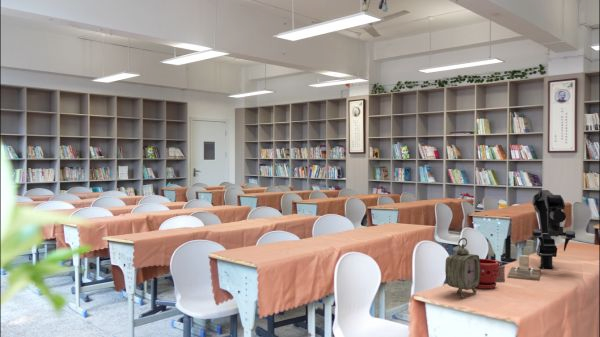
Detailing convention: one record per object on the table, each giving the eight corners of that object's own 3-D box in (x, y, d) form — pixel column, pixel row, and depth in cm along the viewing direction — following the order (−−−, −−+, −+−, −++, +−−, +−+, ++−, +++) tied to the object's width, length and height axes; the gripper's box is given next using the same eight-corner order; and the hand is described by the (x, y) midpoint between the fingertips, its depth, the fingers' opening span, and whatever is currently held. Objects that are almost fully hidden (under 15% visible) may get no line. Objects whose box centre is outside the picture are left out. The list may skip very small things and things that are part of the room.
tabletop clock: (463, 300, 205) (462, 241, 204) (444, 295, 212) (443, 238, 211) (480, 293, 215) (480, 237, 214) (461, 289, 221) (461, 234, 221)
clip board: (511, 269, 258) (511, 262, 258) (541, 271, 251) (541, 264, 251) (507, 277, 240) (507, 270, 240) (538, 280, 234) (538, 273, 233)
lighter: (503, 280, 236) (503, 259, 236) (506, 282, 232) (505, 261, 232) (486, 280, 237) (486, 259, 236) (488, 281, 233) (488, 261, 233)
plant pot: (499, 291, 218) (499, 264, 217) (468, 288, 222) (468, 262, 222) (498, 283, 230) (498, 258, 230) (468, 281, 234) (468, 256, 234)
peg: (520, 272, 246) (519, 254, 246) (528, 273, 244) (528, 255, 244) (519, 274, 242) (519, 256, 242) (528, 275, 240) (528, 257, 240)
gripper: (532, 220, 242) (532, 251, 243) (575, 222, 233) (575, 255, 233) (533, 218, 252) (533, 248, 252) (575, 219, 243) (575, 250, 243)
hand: (553, 250), depth 245 cm, fingers open, 9 cm apart
